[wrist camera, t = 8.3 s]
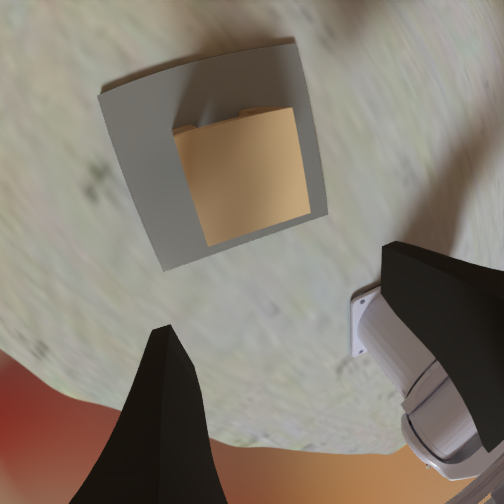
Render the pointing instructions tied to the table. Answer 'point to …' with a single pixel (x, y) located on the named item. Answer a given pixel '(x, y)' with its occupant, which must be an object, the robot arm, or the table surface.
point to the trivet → (199, 114)
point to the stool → (244, 172)
